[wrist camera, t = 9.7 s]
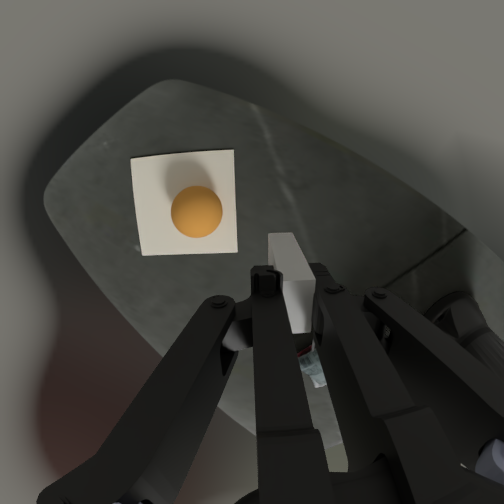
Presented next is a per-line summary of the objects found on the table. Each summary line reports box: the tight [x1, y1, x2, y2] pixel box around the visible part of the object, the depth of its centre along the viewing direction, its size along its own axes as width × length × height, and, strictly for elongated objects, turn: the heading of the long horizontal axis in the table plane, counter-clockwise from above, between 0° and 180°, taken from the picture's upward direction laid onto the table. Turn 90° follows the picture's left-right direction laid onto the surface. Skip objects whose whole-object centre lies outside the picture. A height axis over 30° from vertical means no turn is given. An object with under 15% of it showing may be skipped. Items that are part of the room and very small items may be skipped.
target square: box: [131, 150, 238, 255], centre depth 31 cm, size 12×12×1 cm
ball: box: [171, 186, 223, 238], centre depth 29 cm, size 6×6×6 cm
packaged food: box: [297, 345, 327, 387], centre depth 38 cm, size 9×12×5 cm
